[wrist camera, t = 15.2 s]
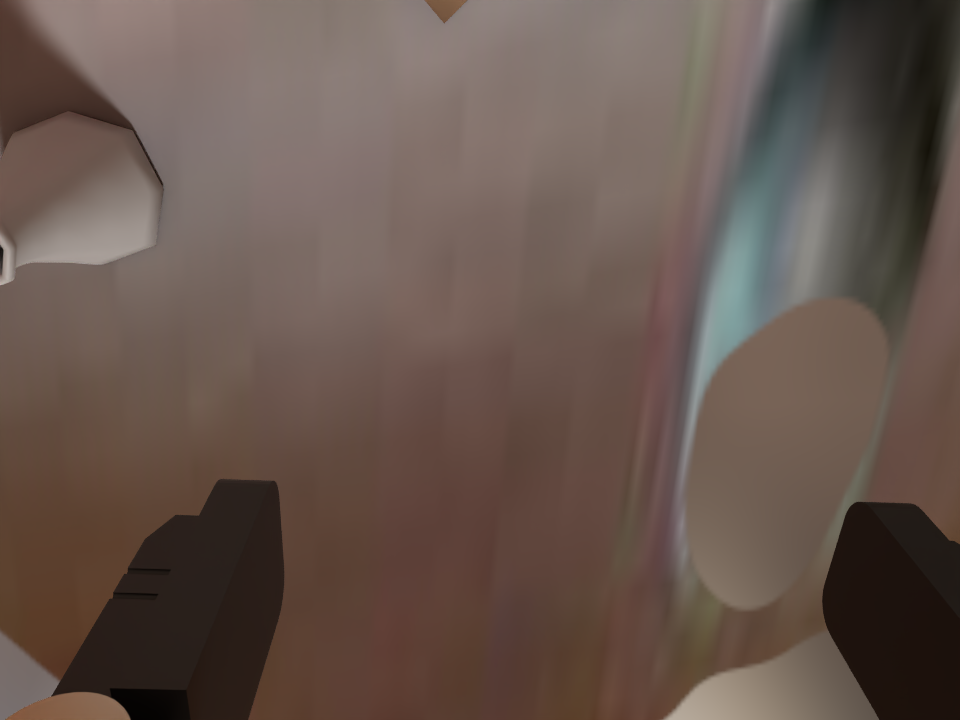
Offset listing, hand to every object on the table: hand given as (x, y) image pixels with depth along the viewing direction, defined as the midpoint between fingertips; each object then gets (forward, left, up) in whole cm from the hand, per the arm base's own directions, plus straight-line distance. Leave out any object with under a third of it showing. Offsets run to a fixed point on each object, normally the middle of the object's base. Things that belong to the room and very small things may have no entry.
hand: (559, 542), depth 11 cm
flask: (+15, -12, -28) cm, 34 cm away
